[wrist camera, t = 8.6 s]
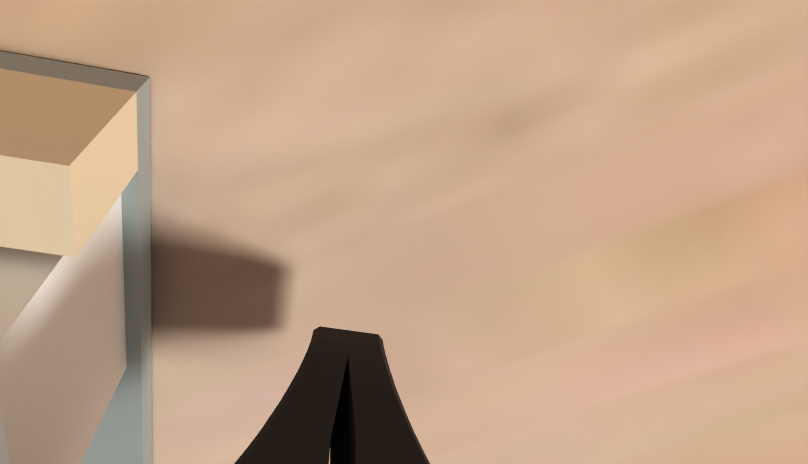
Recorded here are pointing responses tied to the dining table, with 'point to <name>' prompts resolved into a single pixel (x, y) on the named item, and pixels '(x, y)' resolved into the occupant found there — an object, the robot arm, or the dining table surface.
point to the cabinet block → (60, 345)
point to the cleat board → (137, 285)
